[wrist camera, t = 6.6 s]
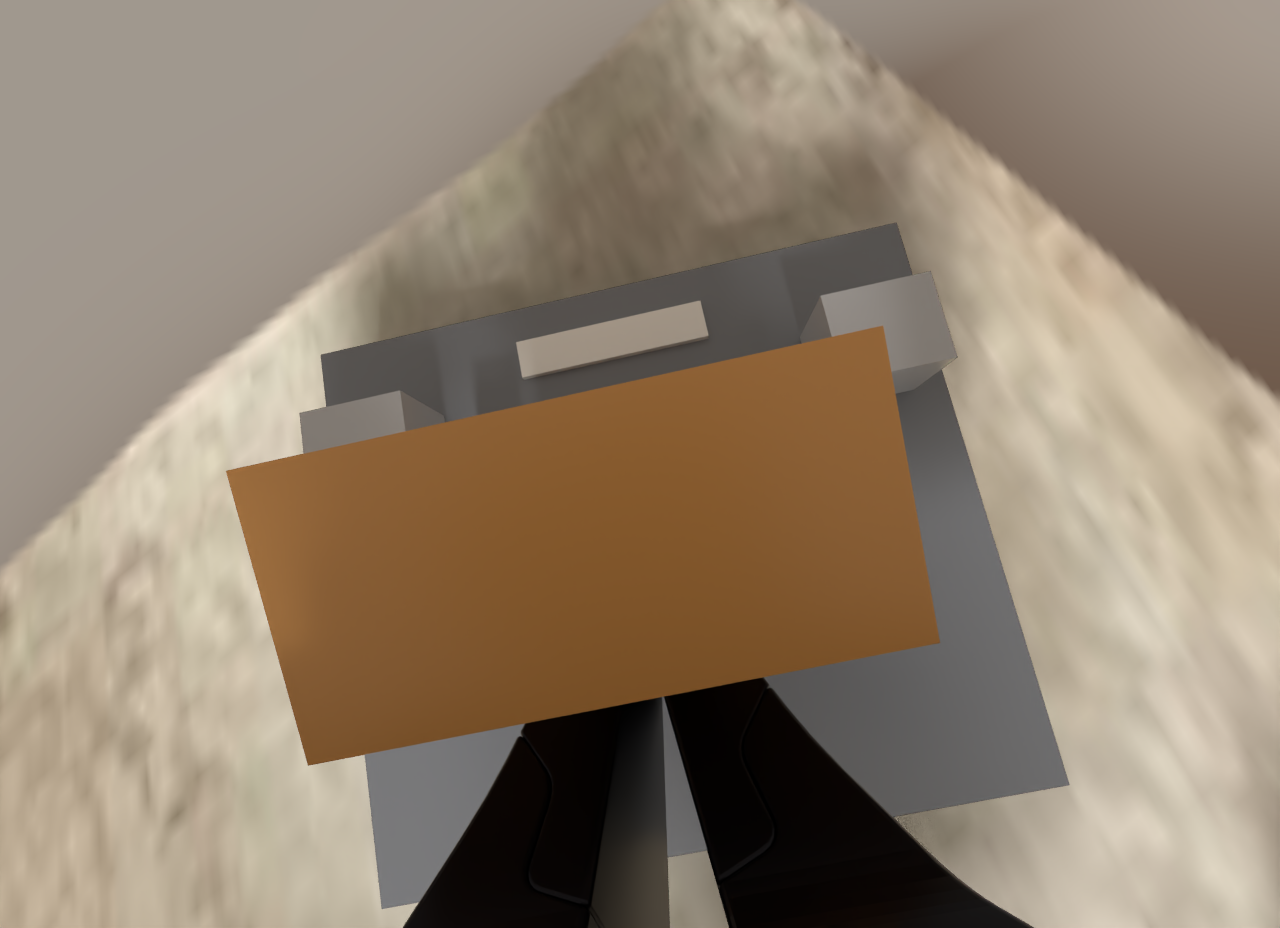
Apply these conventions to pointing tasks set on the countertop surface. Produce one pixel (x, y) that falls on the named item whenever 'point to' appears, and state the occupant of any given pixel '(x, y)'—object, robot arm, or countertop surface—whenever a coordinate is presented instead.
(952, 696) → the box
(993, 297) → the countertop surface
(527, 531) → the lever
